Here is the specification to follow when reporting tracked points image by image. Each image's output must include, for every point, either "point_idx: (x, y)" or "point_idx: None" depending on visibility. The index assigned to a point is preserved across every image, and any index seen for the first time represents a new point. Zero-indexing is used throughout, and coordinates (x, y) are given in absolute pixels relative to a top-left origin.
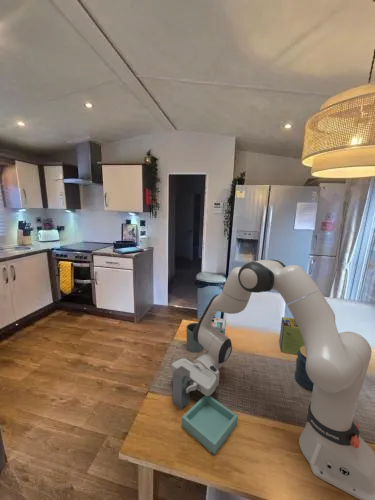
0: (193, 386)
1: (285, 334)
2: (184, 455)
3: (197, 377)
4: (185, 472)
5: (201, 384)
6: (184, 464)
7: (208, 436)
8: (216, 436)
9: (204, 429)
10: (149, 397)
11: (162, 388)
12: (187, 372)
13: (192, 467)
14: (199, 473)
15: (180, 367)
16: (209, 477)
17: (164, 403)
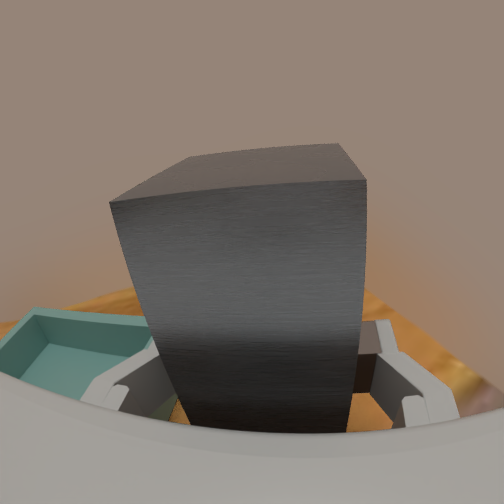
0: (116, 370)
1: None
2: (141, 308)
3: (72, 464)
4: (127, 288)
5: (21, 382)
6: (134, 296)
7: (50, 315)
8: (36, 375)
9: (80, 379)
10: (454, 357)
11: None
12: (151, 182)
13: (111, 301)
14: (92, 301)
15: (336, 168)
16: (68, 306)
17: (368, 393)
